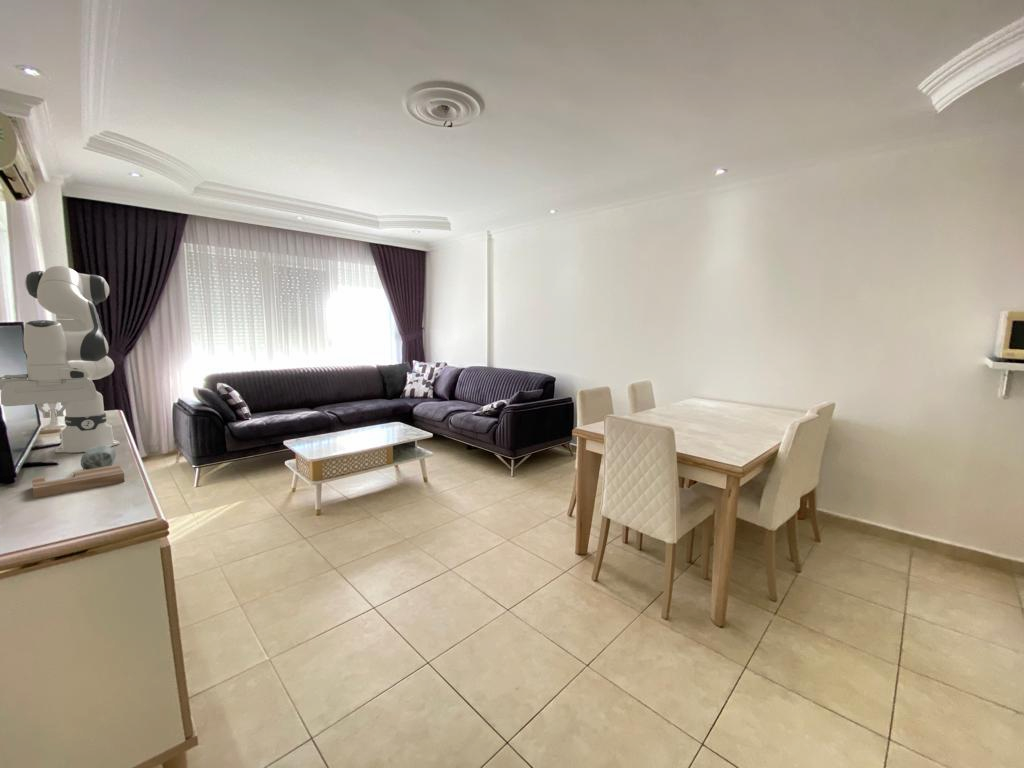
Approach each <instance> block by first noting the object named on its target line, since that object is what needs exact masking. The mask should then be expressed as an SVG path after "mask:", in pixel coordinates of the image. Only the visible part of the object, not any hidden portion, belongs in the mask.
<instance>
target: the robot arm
mask: <svg viewBox="0 0 1024 768" xmlns="http://www.w3.org/2000/svg"><path fill="white" fill-rule="evenodd" d="M24 288H25V289H26V290H27V292H28V294H29V295H30V296H31V297H33V298H34V299H37V302H38V304H39V305H40V306H41V307H42V308H43V309H44V310H46V311H48V312H49V313H51V314H54V315H55V318H56V321H55V320H47V319H46V320H43V319H41V320H40V319H38V320H30V321H28V322H26V323H25V324H24V327H23V339H22V349H23V353H24V354H25V355H26V362H25V367H26V373H25V374H22V373H21V374H20V373H19V374H5V375H4V376H0V391H1V392H0V404H1V405H3V406H4V407H17V406H30V405H36V409H38V411H40V412H41V413H42V416H43V419H48V418H49V419H51V411H48V410H47V411H46V410H45V409H44V405H45V404H48V403H57V404H59V403H60V405H61V408H60V409H59V410H57V411H55V412H56V416H57V418H59V417H61V418H62V417H64V424H66V427H64V428H62V430H61V432H60V433H59V440H60V445H59V446H58V447H56V449H55V451H54V453H72V454H73V453H85V452H86V451H87V450H88V449H90V448H92V447H95V446H108V447H110V448H112V447H113V446H117V445H120V443H121V442H120V441H119V440H116V439H114V433H113V427H112V425H110V424H109V423H107V414H106V412H105V406H104V396H103V395H102V393H101V392H99V391H97V389H96V385H95V383H94V382H93V380H100V379H103V378H106V377H108V376H109V375H111V374H112V373H113V372H114V370H115V363H114V361H113V359H112V358H110V356H108V353H109V343H108V341H107V339H106V337H105V335H104V333H103V327H102V325H101V320H100V318H99V314H98V311H97V308H96V306H97V305H98V304H99V303H103V302H104V301H106V300H107V299H108V296H109V295H110V286H109V284H108V282H107V281H106V279H105V278H104V277H103V276H100V275H97V274H87V273H80V272H77V271H76V270H74V269H72V267H68V266H65V265H63V266H62V265H54V266H51V267H48V268H47V269H45V271H43V270H37V271H35V270H34V271H31V272H29V273H28V274H27V275H26V277H25V280H24ZM64 411H65V416H64Z"/></svg>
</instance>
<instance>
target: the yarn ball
mask: <svg viewBox="0 0 1024 768" xmlns="http://www.w3.org/2000/svg"><path fill="white" fill-rule="evenodd" d="M116 454H117V453H116V451H115V449H114V448H113V447H108V446H95V447H92V448H90V449H88V450H87V451H86V452H83V455H82V457H81V459H80V467H81V468H82V470H88V469H94V468H100V467H106V466H113V465H114V461H115V458H116Z"/></svg>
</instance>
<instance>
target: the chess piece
mask: <svg viewBox="0 0 1024 768" xmlns="http://www.w3.org/2000/svg"><path fill="white" fill-rule="evenodd" d="M57 404H58V403H47V405H48V407H49V409H48V410H47V412H48V411H50V420H49V421H50V422H49V423H48V424H46V425H43V428H42V429H43V430H59V429H65V427H66V424H65V423H63V422H60V421H59V420H58V417H57V413H56V411H59V410H58V409H57V408H56V407H57Z"/></svg>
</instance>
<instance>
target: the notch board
mask: <svg viewBox="0 0 1024 768" xmlns="http://www.w3.org/2000/svg"><path fill="white" fill-rule="evenodd" d="M45 480H46V479H45V476H38V477H32V478H31V481H32V494H33V499H36V498H42V497H48V496H54V495H59V494H65V493H70V492H75V491H80V490H86V489H91V488H92V489H93V488H97V487H102V486H107V485H114V484H119V483H123V482H125V472H124V470H123V469H122V468H121V466H120V465H119V464H112V466H106V467H100V468H94V469H88V470H85V469H82V470H77V471H73V477H68V478H62V479H55V480H49V481H45Z"/></svg>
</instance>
